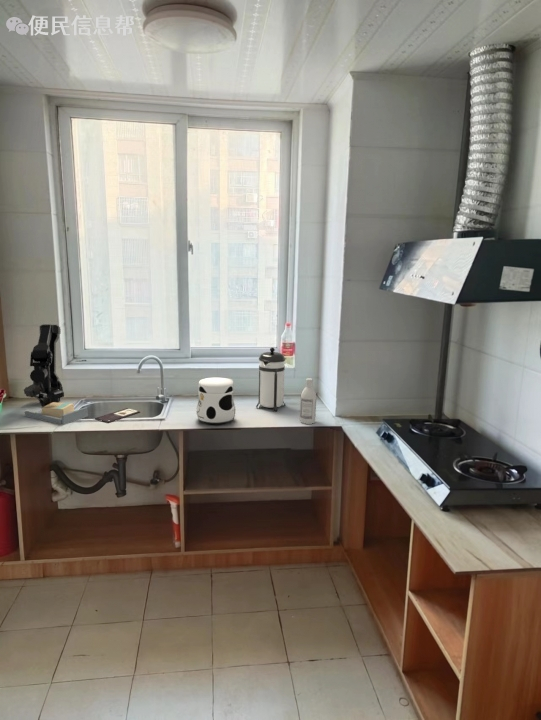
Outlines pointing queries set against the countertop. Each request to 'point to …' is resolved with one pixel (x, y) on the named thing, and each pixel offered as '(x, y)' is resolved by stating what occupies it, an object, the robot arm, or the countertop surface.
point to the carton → (57, 409)
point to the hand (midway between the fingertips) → (45, 410)
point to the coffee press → (271, 379)
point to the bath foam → (308, 403)
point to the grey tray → (65, 418)
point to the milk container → (215, 400)
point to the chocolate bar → (117, 415)
